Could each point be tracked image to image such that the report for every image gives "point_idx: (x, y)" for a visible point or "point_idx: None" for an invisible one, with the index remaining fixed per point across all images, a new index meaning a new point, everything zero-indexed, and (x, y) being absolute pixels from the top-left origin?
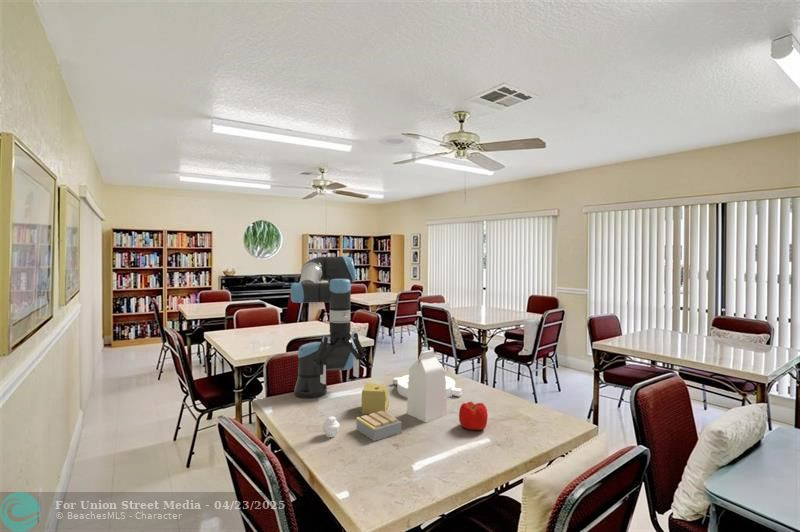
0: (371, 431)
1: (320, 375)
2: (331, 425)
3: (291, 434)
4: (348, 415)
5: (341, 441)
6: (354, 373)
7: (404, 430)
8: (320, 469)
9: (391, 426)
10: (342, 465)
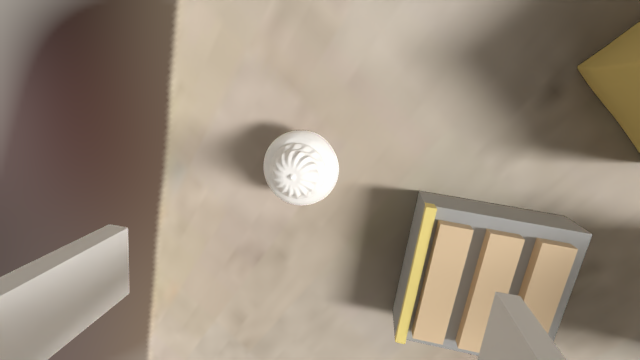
0: (397, 314)
1: (48, 257)
2: (283, 195)
3: (197, 34)
4: (512, 30)
5: (309, 226)
6: (499, 336)
7: None
8: (167, 311)
9: None
10: (223, 339)
